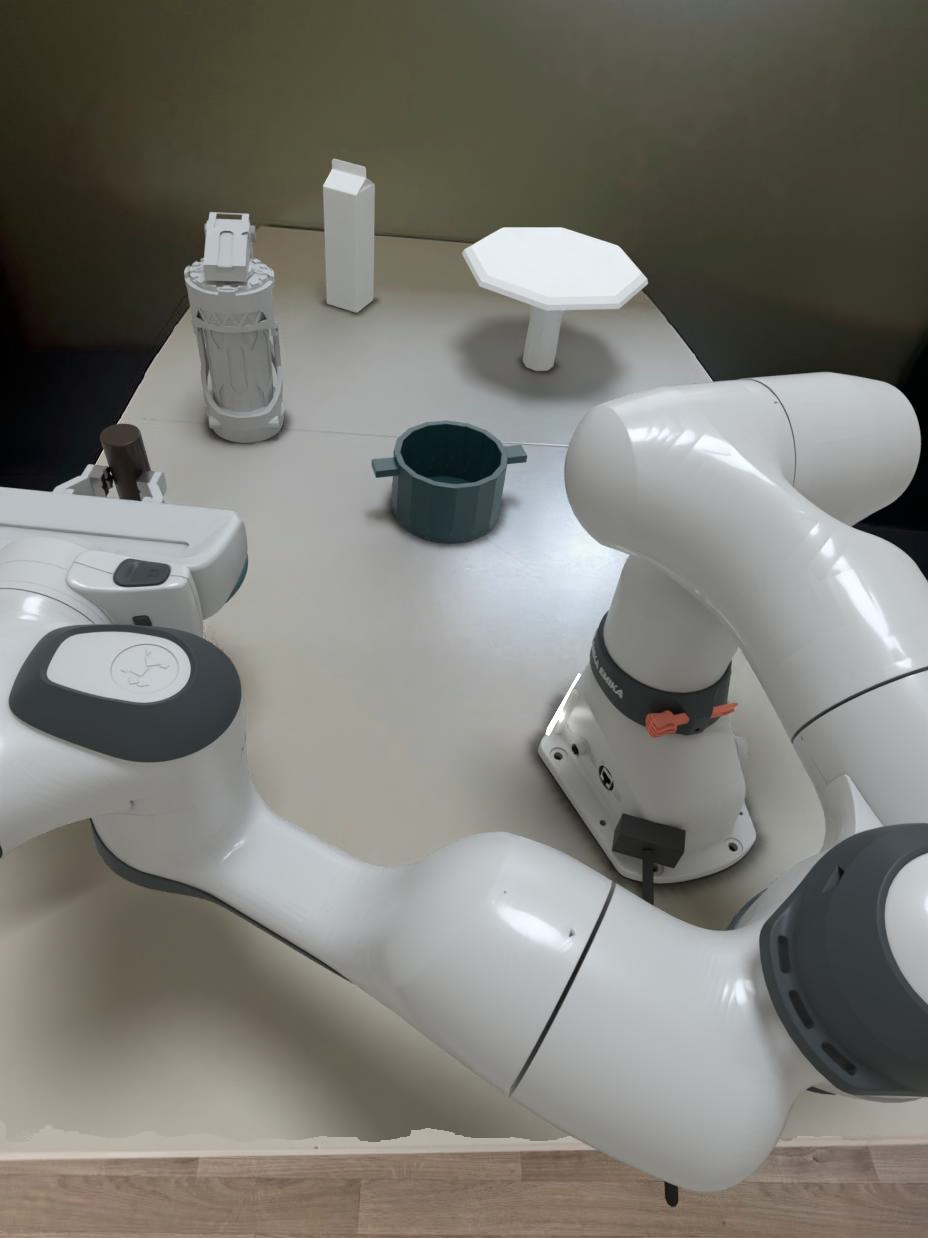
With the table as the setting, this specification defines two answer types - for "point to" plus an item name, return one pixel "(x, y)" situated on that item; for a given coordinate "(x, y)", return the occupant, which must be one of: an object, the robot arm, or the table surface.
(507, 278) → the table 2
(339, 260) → the milk
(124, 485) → the lid
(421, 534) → the pot
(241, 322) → the lantern
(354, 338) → the table surface
